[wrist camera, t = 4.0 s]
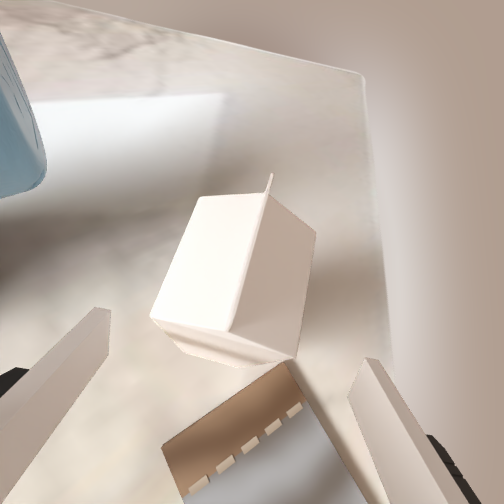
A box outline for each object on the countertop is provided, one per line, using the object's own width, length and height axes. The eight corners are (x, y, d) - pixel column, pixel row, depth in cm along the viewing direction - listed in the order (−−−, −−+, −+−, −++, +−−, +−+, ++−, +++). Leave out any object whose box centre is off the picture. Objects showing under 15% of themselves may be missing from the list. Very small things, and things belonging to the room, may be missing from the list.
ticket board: (163, 444, 24) (160, 448, 23) (281, 362, 28) (284, 362, 27) (249, 652, 20) (252, 670, 18) (372, 517, 24) (380, 525, 23)
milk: (253, 312, 30) (353, 190, 10) (239, 369, 27) (338, 355, 8) (200, 297, 30) (198, 141, 10) (181, 353, 27) (126, 294, 7)
